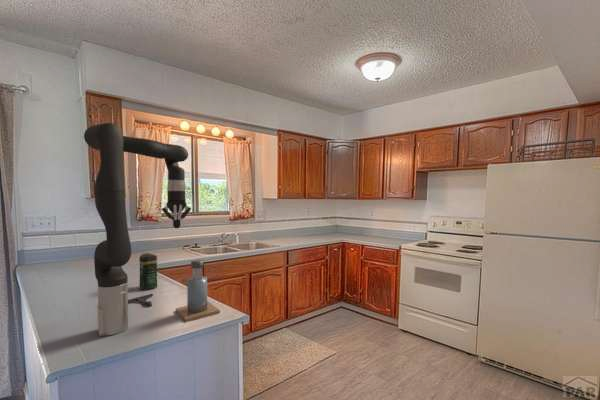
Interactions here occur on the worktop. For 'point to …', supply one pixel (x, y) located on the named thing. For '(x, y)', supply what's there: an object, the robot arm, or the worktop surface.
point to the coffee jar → (148, 271)
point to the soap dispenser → (197, 299)
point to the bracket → (143, 301)
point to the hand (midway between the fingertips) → (176, 228)
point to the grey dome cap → (197, 264)
